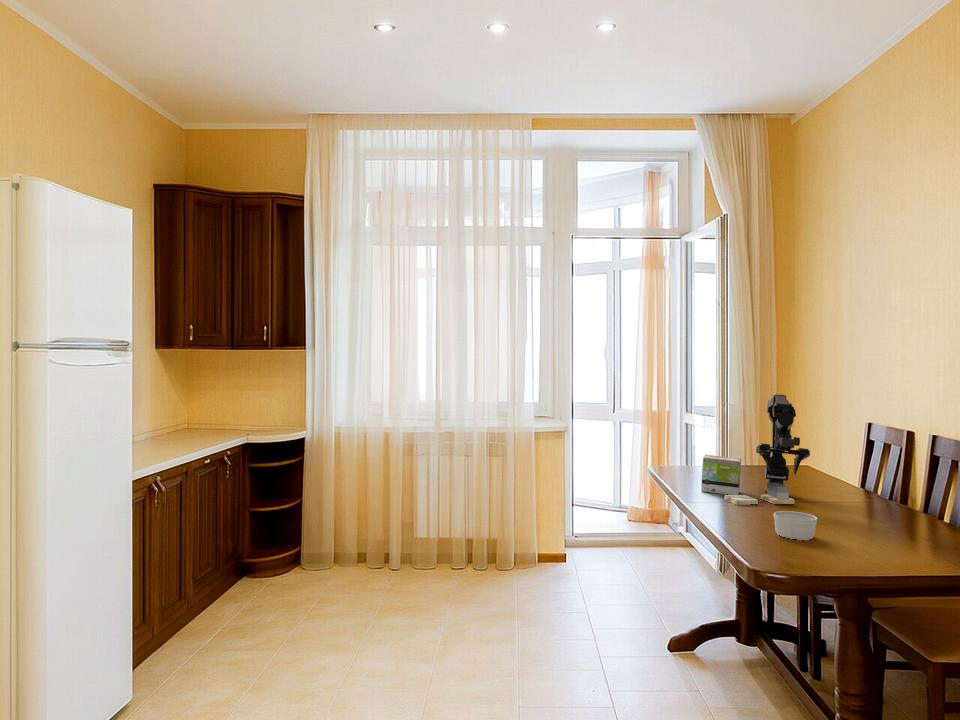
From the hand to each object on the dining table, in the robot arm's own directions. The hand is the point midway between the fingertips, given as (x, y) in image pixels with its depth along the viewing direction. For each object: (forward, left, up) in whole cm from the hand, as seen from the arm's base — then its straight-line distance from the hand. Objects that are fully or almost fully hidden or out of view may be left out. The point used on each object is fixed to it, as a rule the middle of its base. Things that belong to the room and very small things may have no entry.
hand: (782, 472), depth 278 cm
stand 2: (-9, +4, -14) cm, 17 cm away
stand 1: (-9, -12, -14) cm, 20 cm away
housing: (-9, +4, -12) cm, 15 cm away
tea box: (-28, -10, -14) cm, 33 cm away
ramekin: (+38, -21, -14) cm, 46 cm away
